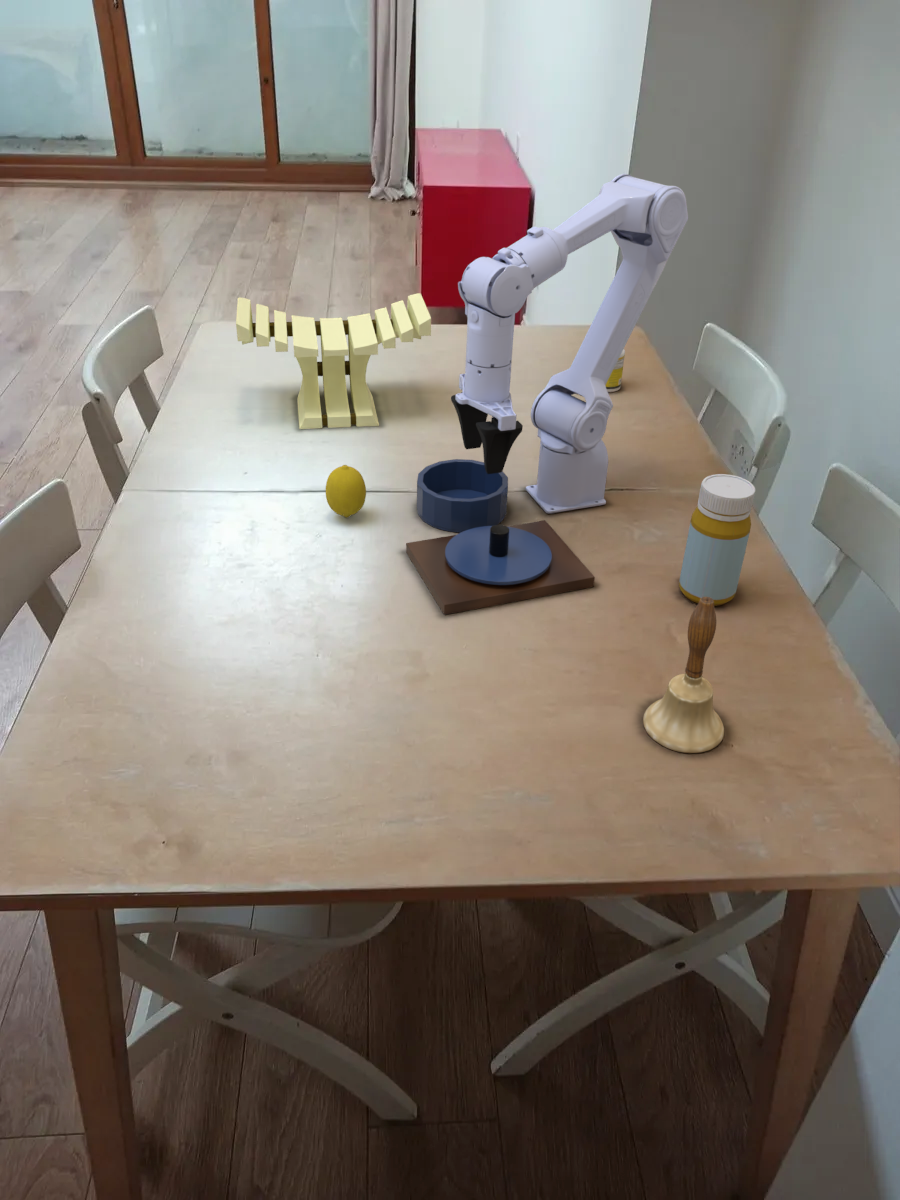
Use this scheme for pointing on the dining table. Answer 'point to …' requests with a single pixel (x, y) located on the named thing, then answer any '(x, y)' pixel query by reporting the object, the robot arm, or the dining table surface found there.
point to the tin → (461, 495)
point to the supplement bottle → (616, 375)
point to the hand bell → (689, 695)
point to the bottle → (717, 539)
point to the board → (469, 594)
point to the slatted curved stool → (335, 354)
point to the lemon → (345, 491)
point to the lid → (498, 555)
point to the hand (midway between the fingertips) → (482, 459)
